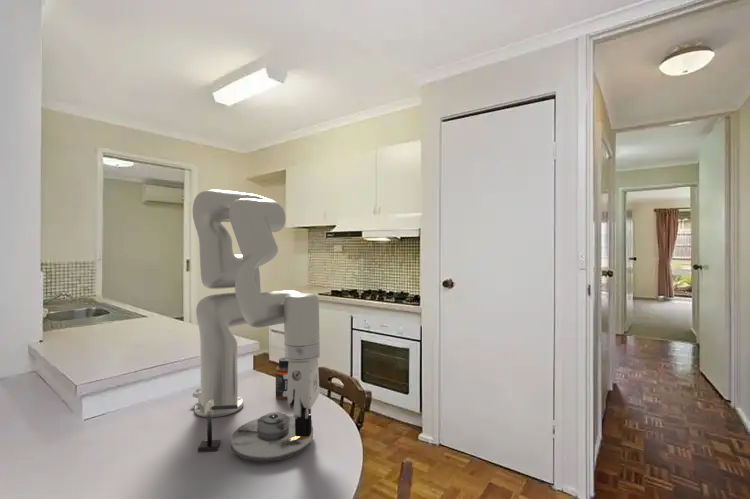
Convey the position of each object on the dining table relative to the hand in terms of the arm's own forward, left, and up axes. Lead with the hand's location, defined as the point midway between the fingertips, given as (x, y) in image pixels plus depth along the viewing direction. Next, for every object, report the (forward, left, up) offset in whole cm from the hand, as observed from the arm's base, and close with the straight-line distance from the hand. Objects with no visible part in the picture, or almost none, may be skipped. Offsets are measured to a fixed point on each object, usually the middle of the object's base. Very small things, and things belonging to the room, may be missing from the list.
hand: (303, 434), depth 85 cm
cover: (-8, 0, -1) cm, 8 cm away
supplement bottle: (-22, +25, -4) cm, 34 cm away
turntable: (-8, +1, -3) cm, 9 cm away
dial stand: (-19, -5, -4) cm, 20 cm away
